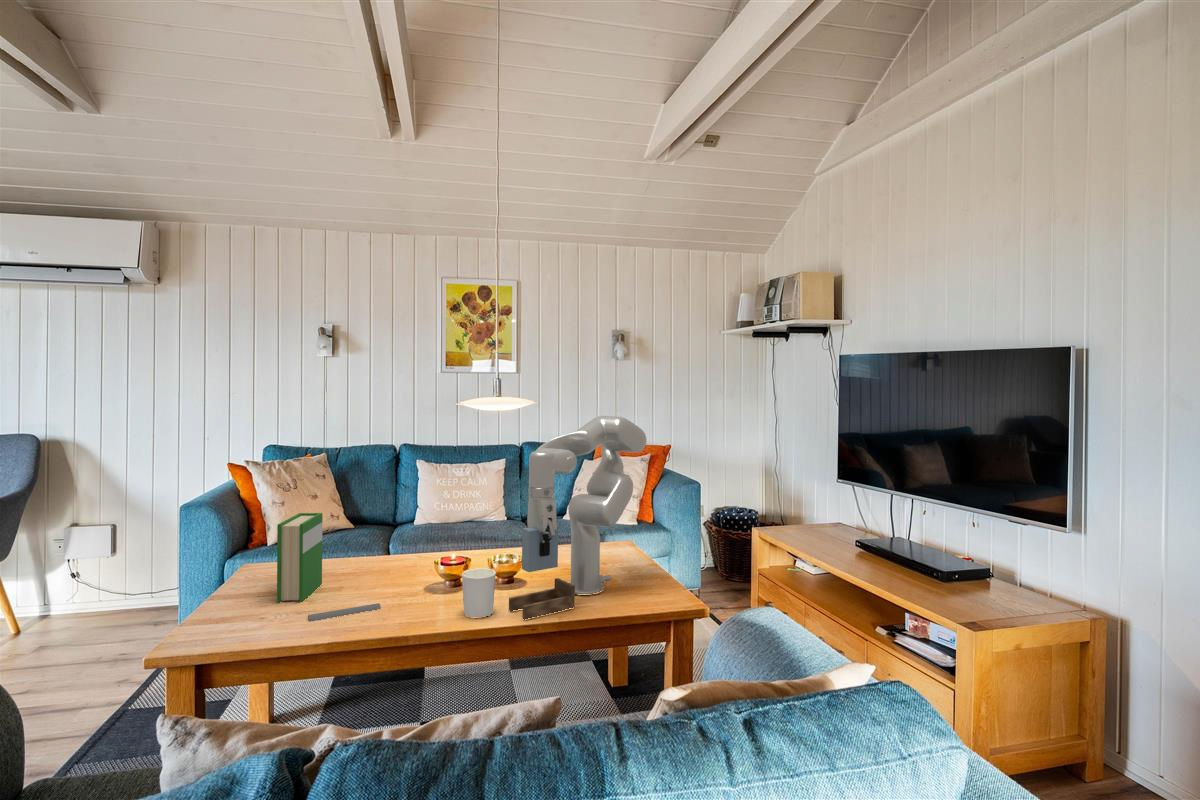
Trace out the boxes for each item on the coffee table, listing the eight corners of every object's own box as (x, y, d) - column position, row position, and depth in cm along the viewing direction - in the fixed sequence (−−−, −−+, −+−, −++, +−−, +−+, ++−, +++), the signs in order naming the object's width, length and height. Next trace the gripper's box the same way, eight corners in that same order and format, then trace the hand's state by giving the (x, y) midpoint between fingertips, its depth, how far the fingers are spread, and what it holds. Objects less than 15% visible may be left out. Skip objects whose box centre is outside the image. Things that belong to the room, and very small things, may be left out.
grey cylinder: (462, 621, 177) (463, 579, 176) (460, 609, 186) (460, 569, 186) (497, 618, 179) (497, 576, 179) (493, 606, 189) (493, 567, 189)
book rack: (557, 600, 195) (557, 578, 195) (574, 608, 188) (574, 585, 188) (508, 611, 185) (509, 587, 185) (524, 620, 177) (524, 596, 177)
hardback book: (302, 602, 190) (302, 524, 189) (276, 603, 189) (277, 524, 189) (321, 584, 207) (322, 512, 207) (298, 585, 207) (299, 513, 206)
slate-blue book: (550, 564, 190) (551, 524, 190) (557, 567, 187) (558, 527, 187) (521, 569, 184) (522, 528, 184) (528, 572, 181) (529, 531, 181)
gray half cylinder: (381, 611, 185) (381, 605, 185) (309, 623, 174) (309, 617, 174) (377, 607, 189) (377, 601, 189) (307, 619, 178) (307, 613, 178)
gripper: (567, 495, 181) (566, 558, 181) (537, 488, 194) (536, 546, 194) (545, 497, 176) (544, 562, 177) (516, 489, 190) (515, 549, 190)
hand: (540, 553), depth 186 cm, fingers closed on slate-blue book, 4 cm apart
